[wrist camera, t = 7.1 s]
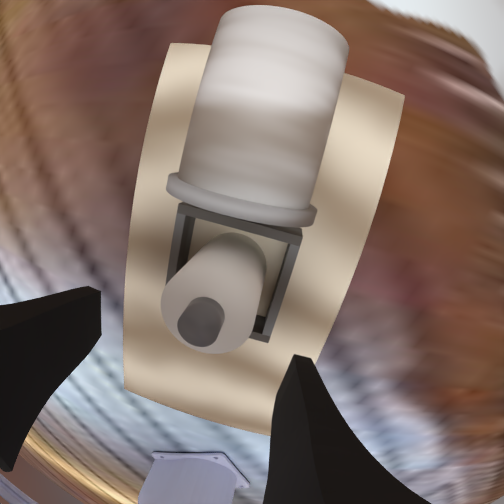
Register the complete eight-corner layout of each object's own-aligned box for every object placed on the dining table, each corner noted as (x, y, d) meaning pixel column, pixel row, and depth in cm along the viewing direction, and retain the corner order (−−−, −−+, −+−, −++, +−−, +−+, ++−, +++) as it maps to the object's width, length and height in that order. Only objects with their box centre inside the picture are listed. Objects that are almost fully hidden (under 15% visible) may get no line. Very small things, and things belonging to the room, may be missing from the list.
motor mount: (277, 429, 23) (269, 497, 16) (129, 382, 23) (91, 437, 16) (399, 98, 14) (459, 66, 7) (176, 48, 15) (117, 0, 8)
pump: (215, 303, 18) (177, 376, 12) (189, 245, 17) (131, 296, 11) (276, 285, 18) (266, 360, 11) (252, 222, 17) (224, 265, 10)
